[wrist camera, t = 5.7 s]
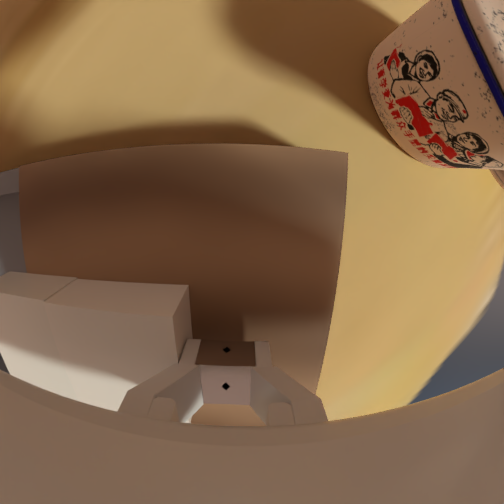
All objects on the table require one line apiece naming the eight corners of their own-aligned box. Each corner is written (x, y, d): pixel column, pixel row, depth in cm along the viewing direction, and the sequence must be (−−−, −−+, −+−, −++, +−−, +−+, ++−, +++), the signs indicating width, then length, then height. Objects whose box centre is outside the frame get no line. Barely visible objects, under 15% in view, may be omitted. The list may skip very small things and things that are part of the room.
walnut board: (64, 166, 12) (19, 166, 8) (318, 160, 13) (347, 152, 9) (99, 382, 16) (77, 417, 12) (292, 400, 16) (301, 444, 12)
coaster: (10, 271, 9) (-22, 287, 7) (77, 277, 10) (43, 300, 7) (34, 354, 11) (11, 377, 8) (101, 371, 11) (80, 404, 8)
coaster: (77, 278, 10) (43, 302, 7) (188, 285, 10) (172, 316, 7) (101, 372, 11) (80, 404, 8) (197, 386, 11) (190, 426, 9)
